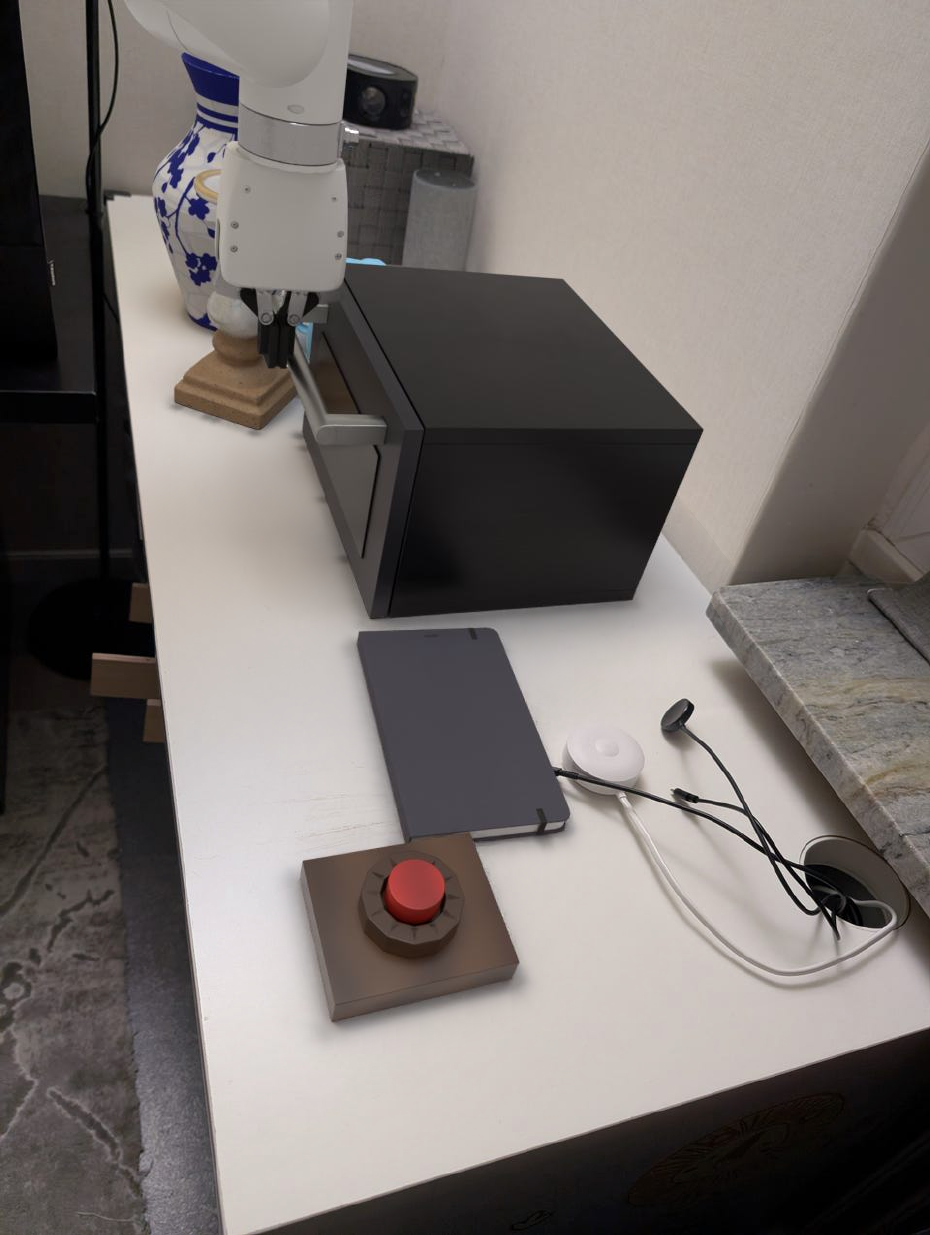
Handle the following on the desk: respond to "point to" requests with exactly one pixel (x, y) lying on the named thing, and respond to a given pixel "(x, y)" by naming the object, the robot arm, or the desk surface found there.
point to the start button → (414, 891)
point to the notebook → (458, 736)
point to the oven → (521, 442)
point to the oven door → (358, 440)
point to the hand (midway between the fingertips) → (274, 361)
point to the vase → (174, 195)
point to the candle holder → (233, 357)
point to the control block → (403, 928)
